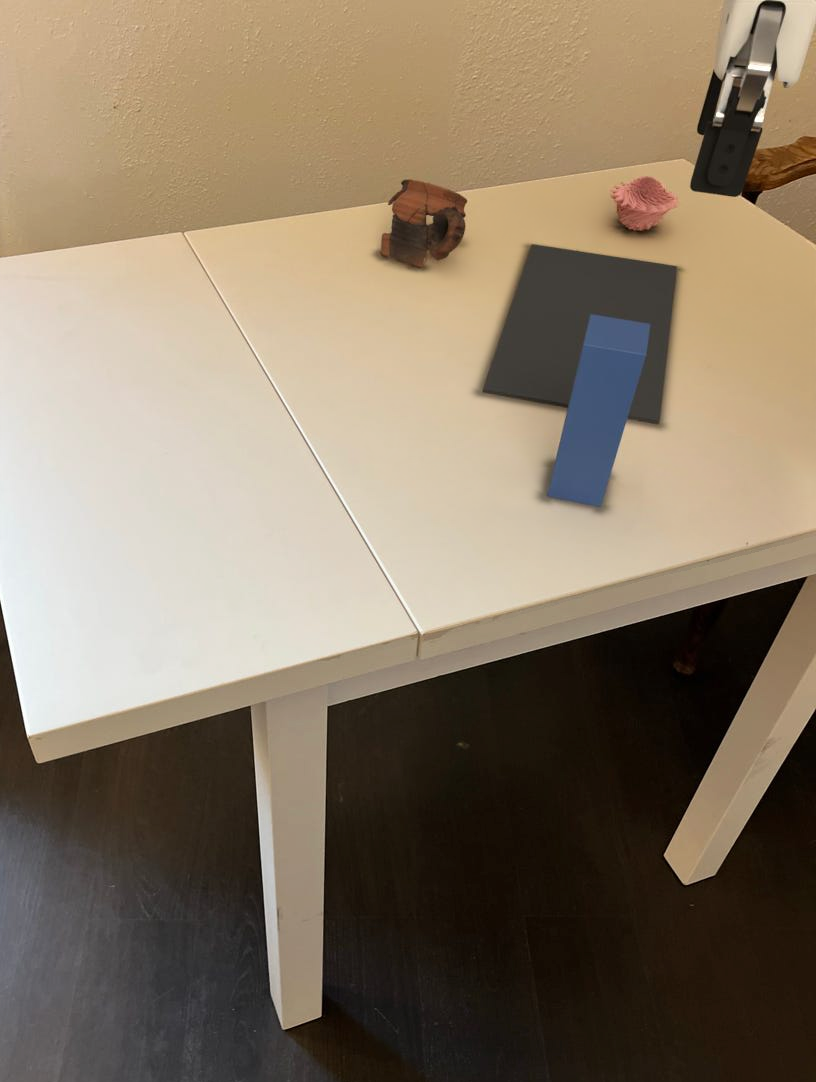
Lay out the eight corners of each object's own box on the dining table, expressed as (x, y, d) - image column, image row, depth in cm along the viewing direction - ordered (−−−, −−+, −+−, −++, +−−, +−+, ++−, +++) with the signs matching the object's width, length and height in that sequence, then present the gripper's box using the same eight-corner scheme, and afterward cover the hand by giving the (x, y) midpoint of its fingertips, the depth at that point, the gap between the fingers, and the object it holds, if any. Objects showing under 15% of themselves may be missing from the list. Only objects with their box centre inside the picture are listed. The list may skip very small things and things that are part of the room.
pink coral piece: (596, 211, 114) (607, 162, 109) (662, 212, 114) (676, 164, 109) (608, 242, 108) (620, 192, 104) (678, 243, 108) (693, 194, 104)
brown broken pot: (358, 249, 107) (379, 171, 104) (421, 270, 112) (443, 197, 110) (420, 266, 98) (446, 181, 95) (486, 288, 104) (512, 209, 101)
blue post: (606, 475, 80) (650, 323, 70) (600, 507, 77) (646, 354, 67) (554, 465, 81) (590, 313, 70) (546, 496, 78) (583, 344, 68)
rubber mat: (676, 269, 104) (677, 265, 104) (658, 424, 85) (659, 420, 85) (531, 247, 107) (531, 243, 107) (482, 392, 88) (483, 388, 88)
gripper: (908, -133, 45) (775, 226, 58) (879, -188, 56) (773, 123, 69) (743, -145, 46) (650, 208, 59) (747, -197, 57) (668, 110, 70)
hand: (716, 162), depth 64 cm, fingers open, 9 cm apart
